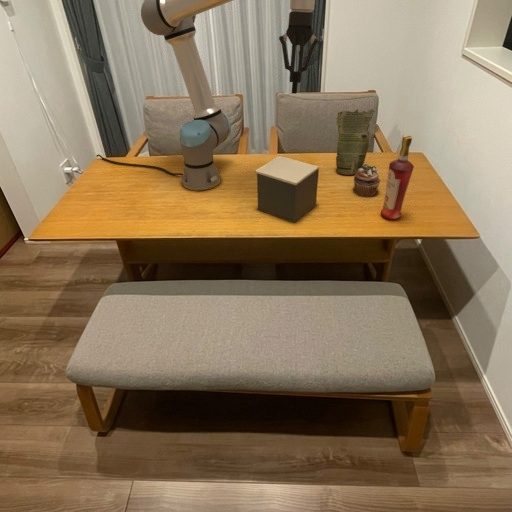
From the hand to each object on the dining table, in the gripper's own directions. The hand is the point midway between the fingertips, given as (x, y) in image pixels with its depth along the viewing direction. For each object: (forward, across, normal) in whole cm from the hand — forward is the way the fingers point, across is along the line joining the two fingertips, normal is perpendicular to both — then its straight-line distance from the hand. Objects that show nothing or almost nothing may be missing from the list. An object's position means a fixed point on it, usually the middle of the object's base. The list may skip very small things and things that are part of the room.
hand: (294, 92), depth 132 cm
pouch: (+32, -24, -19) cm, 45 cm away
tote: (+36, -3, +14) cm, 39 cm away
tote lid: (+22, -2, +15) cm, 27 cm away
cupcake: (+34, -30, -2) cm, 45 cm away
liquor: (+35, -39, +14) cm, 54 cm away
